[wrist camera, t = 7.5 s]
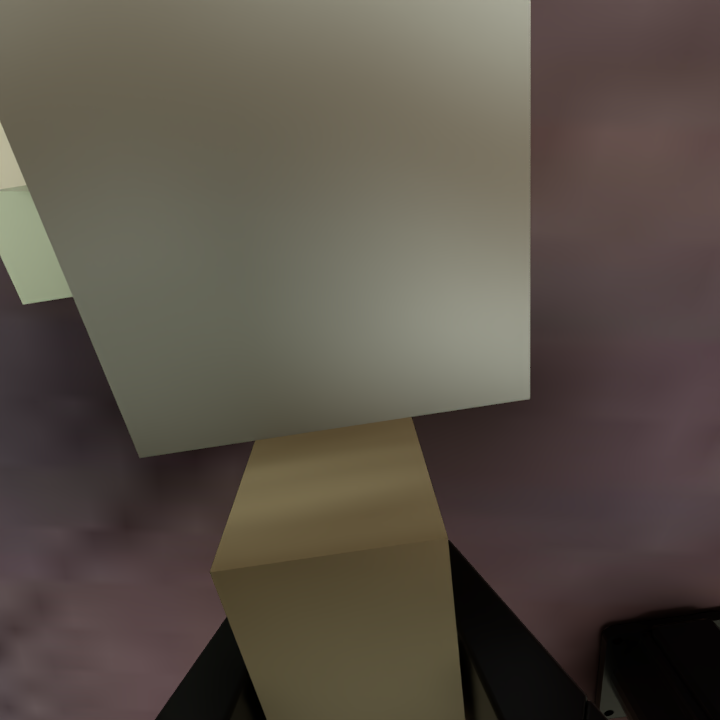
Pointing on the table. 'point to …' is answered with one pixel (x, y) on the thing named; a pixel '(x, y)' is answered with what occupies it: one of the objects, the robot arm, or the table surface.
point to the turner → (296, 289)
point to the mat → (29, 250)
